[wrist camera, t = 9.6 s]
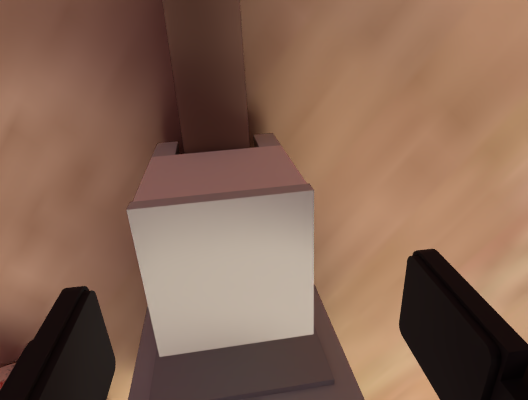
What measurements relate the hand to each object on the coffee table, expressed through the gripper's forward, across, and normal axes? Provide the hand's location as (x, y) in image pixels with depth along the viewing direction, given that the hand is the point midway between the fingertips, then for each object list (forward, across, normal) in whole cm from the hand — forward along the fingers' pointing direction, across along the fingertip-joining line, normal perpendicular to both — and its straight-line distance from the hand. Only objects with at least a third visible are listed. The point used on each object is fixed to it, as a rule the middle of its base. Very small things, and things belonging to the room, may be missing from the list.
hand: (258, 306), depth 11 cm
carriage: (+11, +1, 0) cm, 11 cm away
